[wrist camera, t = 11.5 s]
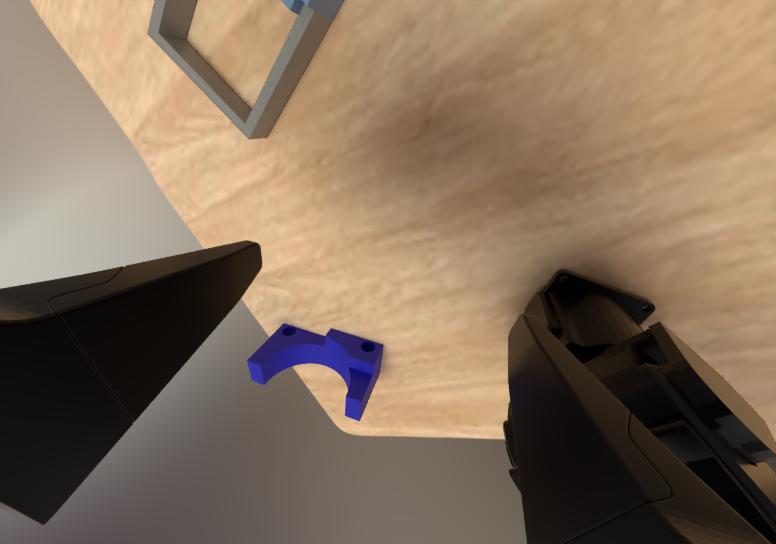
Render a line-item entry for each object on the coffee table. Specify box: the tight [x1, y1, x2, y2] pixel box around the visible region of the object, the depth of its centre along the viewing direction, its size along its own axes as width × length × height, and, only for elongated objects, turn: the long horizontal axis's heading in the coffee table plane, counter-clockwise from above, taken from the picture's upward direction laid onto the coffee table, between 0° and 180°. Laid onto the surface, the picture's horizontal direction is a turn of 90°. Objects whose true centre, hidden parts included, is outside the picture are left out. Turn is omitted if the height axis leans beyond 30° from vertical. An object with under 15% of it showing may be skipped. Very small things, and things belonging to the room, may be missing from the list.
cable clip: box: [247, 324, 383, 421], centre depth 29 cm, size 12×4×6 cm, turn 84°
